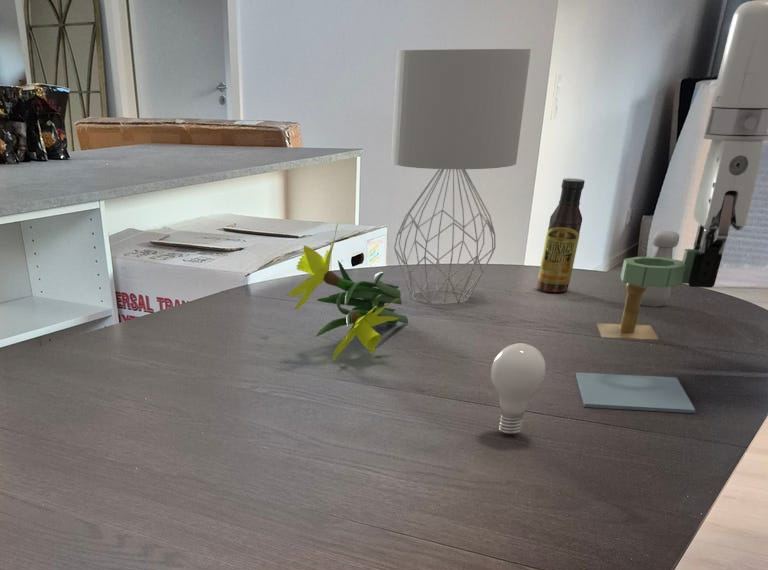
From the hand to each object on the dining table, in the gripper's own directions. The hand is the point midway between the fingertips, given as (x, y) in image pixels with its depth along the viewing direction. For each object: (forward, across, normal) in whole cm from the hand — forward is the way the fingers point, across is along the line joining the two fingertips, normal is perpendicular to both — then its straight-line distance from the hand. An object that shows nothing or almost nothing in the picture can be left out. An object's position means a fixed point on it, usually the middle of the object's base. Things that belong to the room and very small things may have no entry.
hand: (699, 283), depth 114 cm
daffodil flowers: (+14, +12, +48) cm, 51 cm away
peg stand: (+13, +25, +4) cm, 28 cm away
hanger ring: (0, 0, +4) cm, 4 cm away
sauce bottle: (+14, +58, +15) cm, 61 cm away
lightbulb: (+14, -26, +23) cm, 37 cm away
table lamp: (+14, +47, +36) cm, 61 cm away
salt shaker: (+13, +46, -3) cm, 48 cm away
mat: (+13, -6, +6) cm, 16 cm away
